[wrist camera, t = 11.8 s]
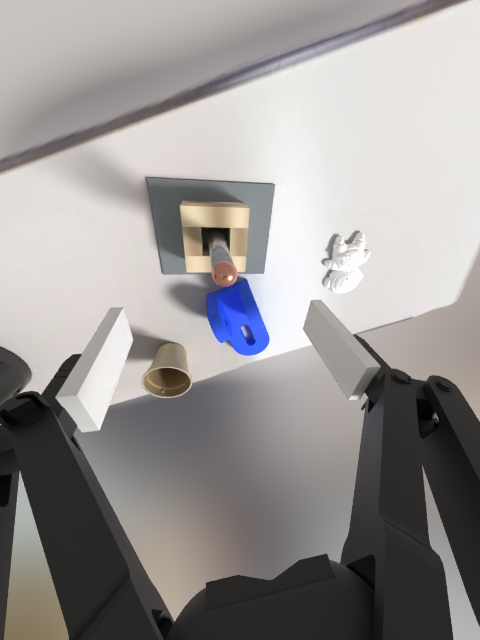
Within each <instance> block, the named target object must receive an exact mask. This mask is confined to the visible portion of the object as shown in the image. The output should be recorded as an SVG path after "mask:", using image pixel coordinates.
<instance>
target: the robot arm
mask: <svg viewBox="0 0 480 640" xmlns="http://www.w3.org/2000/svg"><path fill="white" fill-rule="evenodd" d="M303 330H304V332H305V333H306V335H307V336H308V338H309V339H310V341H311V343H312V344H313V346H314V347H315V349H316V350H317V352H318V354H319V355H320V357H321V358H322V360H323V361H324V363H325V365H326V366H327V368H328V369H329V371H330V372H331V374H332V375H333V377H334V379H335V380H336V382H337V383H338V385H339V386H340V388H341V390H342V391H343V393H344V394H345V396H346V397H347V399H348V400H355V399H361V397H362V395H363V394H364V392H365V393H366V395H367V396H368V399H367V400H366V402H365V403H364V405H363V406H362V408H361V409H362V410H363V409H364V408H365V414H364V421H363V430H362V438H361V444H360V452H359V460H358V467H357V475H356V483H355V490H354V498H353V506H352V514H351V522H350V529H349V534H348V537H347V539H346V541H345V544H344V547H343V551H342V555H341V562H340V563H337V562H335V561H332V560H329V558H328V555H327V554H323V555H319V556H315V557H311V558H307V559H302V560H299V561H298V562H296V563H295V564H294V565H292V566H291V567H289V568H288V569H287V570H285V571H284V572H282V573H281V574H280V575H278V576H277V577H276V578H274V579H273V580H264V579H258V578H252V577H246V576H240V575H236V576H232V577H227V578H223V579H219V580H215V581H211V582H207V583H206V588H204V589H203V590H201V591H200V592H199V593H197V594H196V595H195V596H194V597H193V598H192V599H191V600H190V601H189V603H188V604H187V605H186V606H185V607H184V609H183V610H182V612H181V613H180V615H179V616H178V618H177V619H176V621H175V622H174V620H173V618H172V616H171V615H170V613H169V611H168V609H167V607H166V605H165V604H164V601H163V599H162V598H161V596H160V594H159V592H158V591H157V589H156V588H155V586H154V585H153V583H152V582H151V580H150V579H149V577H148V575H147V573H146V571H145V570H144V568H143V566H142V564H141V562H140V560H139V558H138V556H137V554H136V552H135V550H134V549H133V547H132V545H131V543H130V541H129V539H128V537H127V535H126V533H125V531H124V529H123V527H122V526H121V524H120V522H119V520H118V518H117V516H116V514H115V512H114V511H113V508H112V506H111V505H110V503H109V501H108V499H107V497H106V495H105V493H104V491H103V489H102V487H101V486H100V484H99V482H98V480H97V478H96V476H95V474H94V472H93V470H92V468H91V466H90V464H89V463H88V461H87V459H86V457H85V455H84V453H83V451H82V449H81V447H80V445H79V443H78V442H77V440H76V438H75V436H74V435H73V434H74V432H75V430H76V427H78V428H79V429H80V431H81V432H90V431H98V430H100V427H101V425H102V422H103V420H104V417H105V414H106V412H107V409H108V406H109V404H110V401H111V398H112V396H113V393H114V390H115V388H116V385H117V382H118V380H119V377H120V374H121V372H122V369H123V366H124V363H125V361H126V358H127V355H128V353H129V350H130V347H131V345H132V342H133V336H132V333H131V330H130V327H129V324H128V321H127V318H126V314H125V311H124V308H123V307H122V308H110V310H109V311H108V313H107V315H106V316H105V318H104V319H103V321H102V323H101V324H100V326H99V327H98V329H97V331H96V332H95V334H94V336H93V337H92V339H91V340H90V342H89V344H88V345H87V347H86V349H85V350H84V352H83V353H82V354H74V355H72V356H71V357H69V358H68V359H67V360H66V361H64V362H63V364H62V365H61V367H60V368H59V370H58V372H57V373H56V374H55V376H54V378H53V379H52V380H51V381H50V383H49V384H48V386H47V387H46V389H45V390H44V392H43V393H42V395H40V394H39V393H38V392H34V391H29V392H23V393H20V392H21V391H22V390H23V389H24V388H25V387H26V385H27V384H28V383H29V382H30V380H31V376H32V374H31V370H30V368H29V367H28V365H27V364H26V363H25V362H24V361H23V360H22V359H21V358H19V357H18V356H17V355H15V354H13V353H12V352H10V351H8V350H6V349H3V348H1V347H0V424H2V425H0V640H4V630H5V619H6V609H7V597H8V587H9V576H10V566H11V555H12V544H13V534H14V524H15V513H16V502H17V492H18V481H19V471H20V472H21V475H22V479H23V482H24V486H25V489H26V492H27V495H28V499H29V502H30V506H31V508H32V512H33V515H34V519H35V522H36V526H37V529H38V533H39V536H40V539H41V543H42V546H43V549H44V553H45V555H46V559H47V563H48V566H49V569H50V573H51V576H52V579H53V583H54V586H55V589H56V593H57V596H58V600H59V603H60V606H61V610H62V613H63V616H64V620H65V623H66V626H67V630H68V635H69V640H453V633H452V625H451V617H450V609H449V601H448V593H447V585H446V577H445V571H444V567H443V563H442V561H441V559H440V557H439V555H438V554H437V553H436V552H435V551H434V550H432V548H431V545H430V542H429V535H428V524H427V513H426V502H425V492H424V481H423V471H422V465H423V468H424V471H425V474H426V476H427V479H428V482H429V485H430V488H431V491H432V494H433V497H434V500H435V503H436V506H437V508H438V511H439V514H440V517H441V520H442V523H443V526H444V529H445V532H446V534H447V537H448V540H449V543H450V546H451V549H452V552H453V555H454V558H455V561H456V564H457V566H458V569H459V572H460V575H461V578H462V581H463V584H464V587H465V590H466V592H467V595H468V598H469V601H470V603H471V606H472V608H473V611H474V614H475V616H476V619H477V621H478V624H479V626H480V422H479V420H478V418H477V417H476V415H475V414H474V412H473V410H472V409H471V407H470V406H469V404H468V403H467V401H466V399H465V398H464V396H463V395H462V393H461V392H460V390H459V389H458V387H457V386H456V385H455V384H453V383H452V382H451V381H449V380H448V379H445V378H443V377H440V376H434V375H433V376H429V378H428V379H427V380H426V381H421V380H415V379H412V378H411V377H410V376H409V375H407V374H406V373H405V372H402V371H400V370H398V369H391V368H390V367H389V366H388V364H386V362H385V361H384V360H383V359H382V358H381V357H380V356H379V355H378V354H377V353H376V352H375V351H374V350H373V349H372V348H371V347H370V346H369V344H368V343H367V342H366V341H365V340H364V339H362V338H361V337H359V336H357V335H352V334H351V333H350V332H349V331H348V329H347V328H346V327H345V326H344V325H343V324H342V323H341V322H340V321H339V319H338V318H337V317H336V316H335V315H334V314H333V313H332V312H331V311H330V310H329V308H328V307H327V306H326V305H325V304H324V303H323V302H322V301H321V300H311V303H310V306H309V310H308V313H307V317H306V320H305V324H304V327H303ZM18 393H20V394H18ZM17 394H18V395H17ZM436 417H438V420H439V421H438V420H437V418H436Z"/></svg>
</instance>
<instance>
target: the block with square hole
mask: <svg viewBox="0 0 480 640" xmlns="http://www.w3.org/2000/svg"><path fill="white" fill-rule="evenodd" d="M249 211H250V208H249V207H248V206H247V205H246V204H245V203H240V202H214V201H188V200H183V201H182V203H181V205H180V212H181V222H182V231H183V241H184V251H185V261H186V271H187V272H212V266H211V259H210V252H209V246H203V243H202V227H219V228H227V247H228V250H229V252H230V255H231V258H232V260H233V263H234V265H235V267H236V269H237V272H245V268H246V254H247V239H248V225H249Z"/></svg>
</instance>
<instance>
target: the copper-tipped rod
mask: <svg viewBox="0 0 480 640" xmlns="http://www.w3.org/2000/svg"><path fill="white" fill-rule="evenodd" d="M207 237H208V244H209V252H210V259H211V266H212V278H213V280H214V282H215V283H216V284H217V285H219V286H222V287H228V286H231V285H232V284H234V282H235V281H236V279H237V275H238V272H237V269H236V267H235V265H234V263H233V260H232V258H231V255H230V252H229V250H228V247H227V244H226V241H225V239H224V236H223V233H222V231H221V229H220V228H219V227H209V228H208V230H207Z"/></svg>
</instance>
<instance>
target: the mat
mask: <svg viewBox="0 0 480 640" xmlns="http://www.w3.org/2000/svg"><path fill="white" fill-rule="evenodd" d="M147 182H148V188H149V194H150V199H151V205H152V211H153V217H154V223H155V229H156V234H157V240H158V246H159V252H160V258H161V264H162V269H163V274H212V272H187V271H186V261H185V251H184V241H183V231H182V222H181V212H180V205H181V203H182V201H183V200H188V201H214V202H240V203H245V204H246V205H247V206H248V207H249V208H250V211H249V225H248V239H247V254H246V268H245V272H238V274H264V269H265V261H266V253H267V245H268V237H269V229H270V221H271V213H272V205H273V197H274V189H275V184H256V183H237V182H217V181H198V180H179V179H160V178H147ZM208 228H209V227H202V243H203V246H209V244H208V237H207V230H208ZM220 229H221V231H222V233H223V236H224V239H225V241H226V244H227V228H220Z"/></svg>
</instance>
